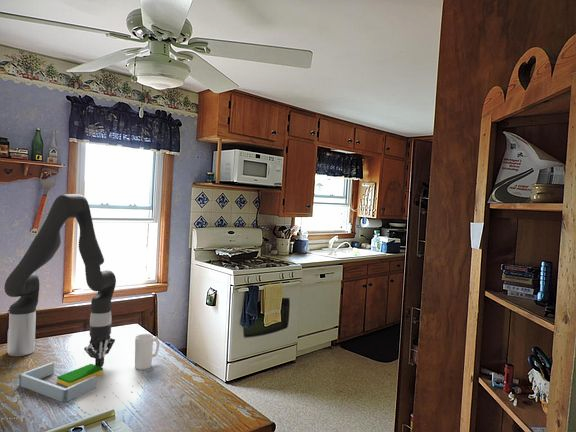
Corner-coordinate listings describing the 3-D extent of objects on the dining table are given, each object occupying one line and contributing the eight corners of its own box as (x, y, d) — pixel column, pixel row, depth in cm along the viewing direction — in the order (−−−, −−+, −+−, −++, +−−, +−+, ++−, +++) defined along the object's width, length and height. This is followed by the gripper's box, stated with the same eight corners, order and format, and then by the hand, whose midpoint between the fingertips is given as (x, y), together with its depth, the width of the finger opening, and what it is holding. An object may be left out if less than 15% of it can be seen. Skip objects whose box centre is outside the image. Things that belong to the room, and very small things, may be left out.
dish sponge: (103, 373, 151) (103, 367, 151) (69, 388, 139) (69, 381, 139) (90, 369, 154) (91, 363, 154) (56, 383, 142) (56, 376, 142)
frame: (19, 385, 138) (19, 374, 138) (51, 372, 149) (52, 362, 149) (64, 402, 129) (64, 390, 128) (95, 387, 140) (96, 376, 139)
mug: (139, 371, 154) (140, 341, 153) (131, 366, 158) (132, 336, 158) (162, 364, 161) (164, 335, 161) (154, 359, 166) (155, 331, 165)
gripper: (107, 316, 161) (106, 358, 162) (78, 325, 149) (77, 371, 150) (121, 319, 158) (120, 362, 159) (93, 329, 146) (91, 375, 147)
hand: (99, 366), depth 154 cm, fingers closed
